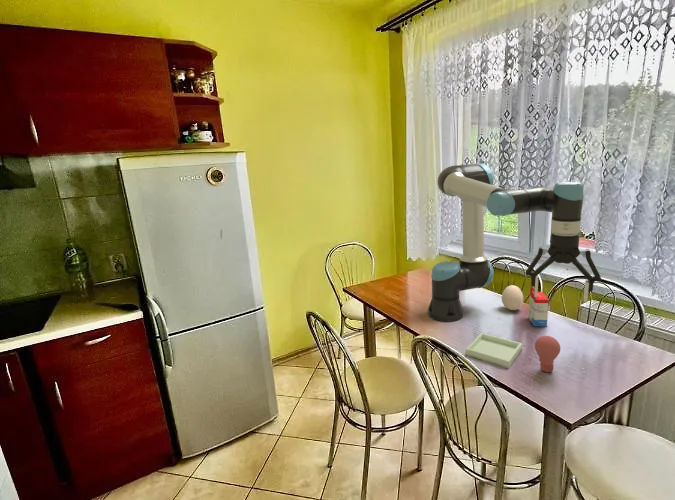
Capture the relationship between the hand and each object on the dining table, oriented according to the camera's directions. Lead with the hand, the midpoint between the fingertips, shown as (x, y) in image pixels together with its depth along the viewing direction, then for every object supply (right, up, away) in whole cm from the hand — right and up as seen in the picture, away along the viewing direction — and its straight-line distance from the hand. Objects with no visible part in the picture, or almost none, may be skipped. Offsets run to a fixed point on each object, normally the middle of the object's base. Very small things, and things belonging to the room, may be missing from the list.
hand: (559, 298), depth 118 cm
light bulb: (-4, -24, +2) cm, 24 cm away
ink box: (+11, -14, +34) cm, 38 cm away
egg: (+7, -11, +47) cm, 49 cm away
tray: (-15, -21, +14) cm, 30 cm away
